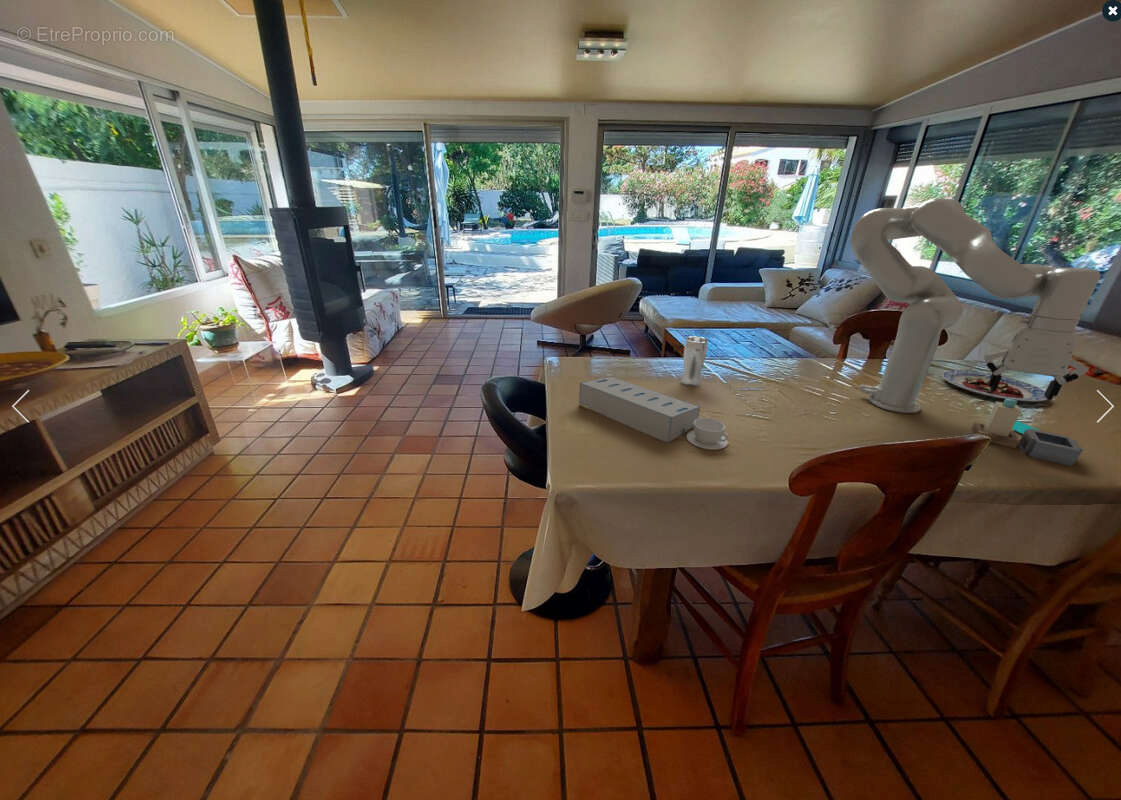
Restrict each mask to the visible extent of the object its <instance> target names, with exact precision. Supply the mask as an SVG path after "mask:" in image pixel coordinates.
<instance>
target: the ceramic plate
mask: <svg viewBox="0 0 1121 800" xmlns="http://www.w3.org/2000/svg"><path fill="white" fill-rule="evenodd" d="M991 375H992V373H989V372H982V371H974V370H961V369H959V370H956V369H955V370H954V369H953V370H947V371H944V372H943V373H942V374H941V377H942V379H944V380H945V381H946V382H948V383H949V384H952V385H954V386H956V387H959V388H962V389H964V390H966V391H968V392H971V393H974V394H977V395H980V396H985V397H988V398H994V399H999V400H1005V399H1013V400H1016V401H1017V402H1018V401H1021V402H1042V401H1043V402H1045V401H1047V400H1048V399H1046V397H1045V396H1044V394H1045V392H1046V390H1044V389H1043V388H1041V387H1038V386H1036V385H1034V384H1031V383H1028V382H1026V381H1021V380H1019V379H1015V378H1013V377H1012V378H1011V377H1008V376H1004V375H1001V376H1002V378H1001V380H1000V382H999V385H998V387H997V389H996V391H991V389H990V386H988V382H989V380H990V378H991Z"/></svg>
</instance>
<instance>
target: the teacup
mask: <svg viewBox="0 0 1121 800" xmlns="http://www.w3.org/2000/svg"><path fill="white" fill-rule="evenodd" d="M725 430H726V425H725V424H724V423H723V422H722V421H720V420H719V419H715V418H711V417H698V419H696V420H695V421H694V426H693V430H691V431H687V434H686V436H685V437H686V440H687V441H688V442H689V443H690V444H692V445H693V446H695V447H698V448H701V449H705V450H711V451H712V450H722V449H724V448H727V446H728V445H729V441H728V439H729V434H728V433H727V432H725Z"/></svg>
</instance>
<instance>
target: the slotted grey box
mask: <svg viewBox="0 0 1121 800" xmlns="http://www.w3.org/2000/svg"><path fill="white" fill-rule="evenodd" d="M578 397H579V400H578V405H579V404H581V405H583V406H586V407H588V408H590V409H592V410H595V411H597V412H599V413H601V414H603V415H605V416H604V417H606V416H608V417H610V418H612V419H611V420H613V419H614V420H613V421H615V420H617V421H616V422H618V421H619V422H618V423H620V422H621V423H620V424H622V423H623V425H625V426H627V425H628V427H629V426H630V427H629V428H632V429H635V430H637V431H639V432H642V433H643V434H647V435H648V436H650V437H653V438H656V439H658V440H660V441H663V442H665V443H667V444H669V443H670V442H672V441H673V440H675V439H677V438H678V437H680V436H681V435H683V433H686V432H688V431H689V430H690V429H692V428H694V421H695V420H696V419H698V418H699V416H700V415H699V413H700V409H701V406H699V405H696V404H693V403H690V402H687V401H683V400H681V399H678V398H676V397H672V396H669V395H668V394H667V395H666V394H663V393H661V392H658V391H655V390H651V389H649V388H646V387H644V386H640V385H637V384H635V383H631V382H628V381H626V380H622V379H619V378H617V377H613V376H607V377H602V378H598V379H597V378H596V379H590V380H586V381H582V382H580V383H579V396H578ZM592 410H591V411H592ZM599 413H598V414H599ZM601 414H600V415H601ZM603 415H602V416H603ZM608 417H607V418H608ZM610 418H609V419H610Z"/></svg>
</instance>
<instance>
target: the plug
mask: <svg viewBox="0 0 1121 800" xmlns="http://www.w3.org/2000/svg"><path fill="white" fill-rule="evenodd" d="M1003 400H1004V401H1003V402H1002V401H1001V402H1000V401H995V403H994V404H993V407H992V409H991V411H990V413H989V415H988V417H987V419H986V421H985V422H984V423H985V425H984V427H983V429H982V430H983V432H987V433H992V434H996V435H1001V436H1005V437H1008V435H1009V434H1010V432H1011V430H1012V428H1013V426H1014V424H1015V422H1016V420H1017V421H1018V418H1019V416H1020V414H1021V413H1022V410H1021V408H1020V407H1019V405H1017V403H1018V400H1013V399H1003Z"/></svg>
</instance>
